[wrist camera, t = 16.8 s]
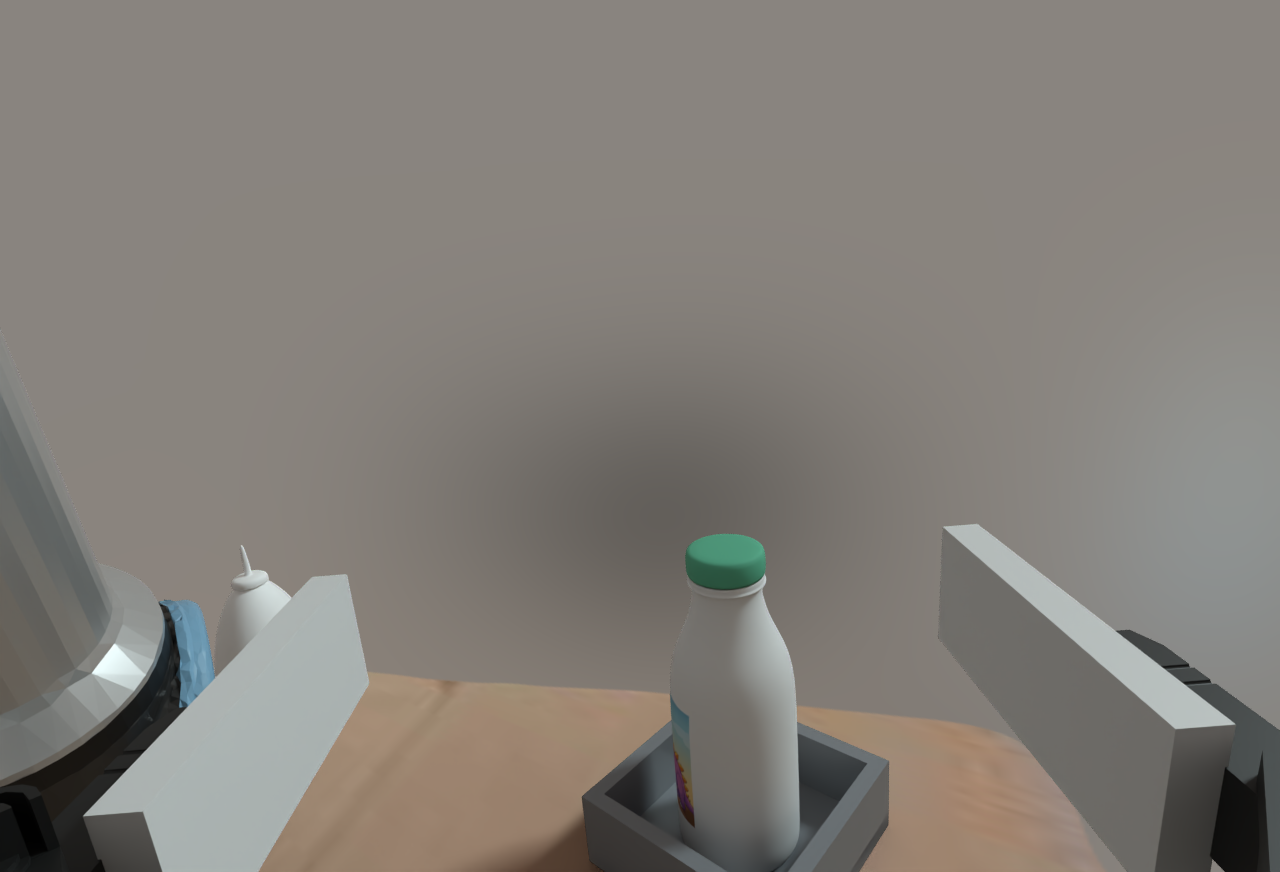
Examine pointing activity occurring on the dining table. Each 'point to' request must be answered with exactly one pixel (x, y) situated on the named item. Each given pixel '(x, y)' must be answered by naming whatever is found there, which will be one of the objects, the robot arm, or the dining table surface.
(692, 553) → the milk bottle
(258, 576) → the white squeeze bottle
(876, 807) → the box
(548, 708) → the dining table surface
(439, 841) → the dining table surface
